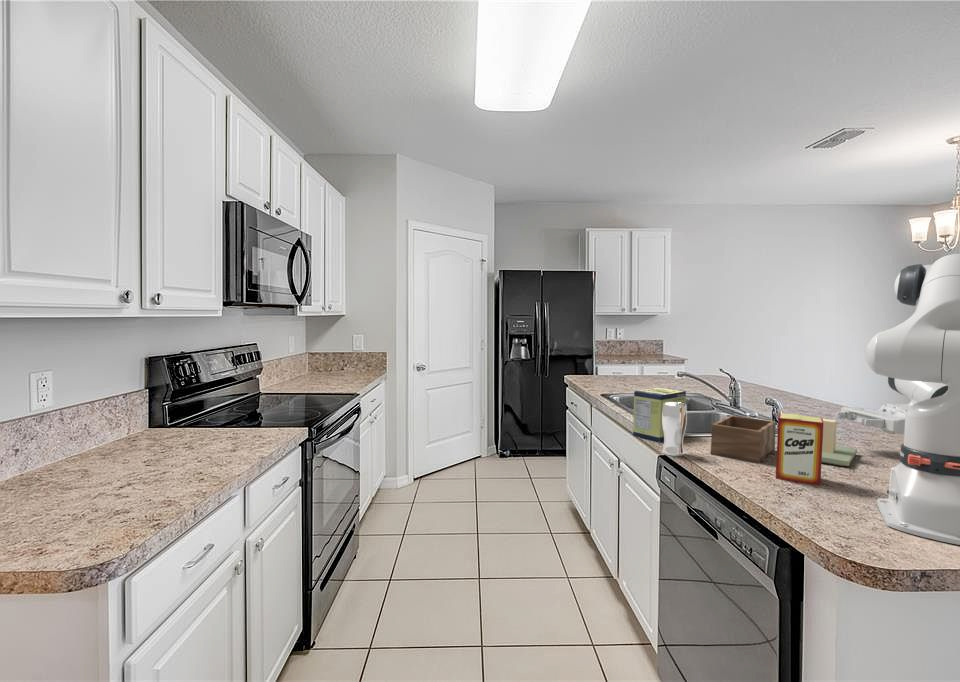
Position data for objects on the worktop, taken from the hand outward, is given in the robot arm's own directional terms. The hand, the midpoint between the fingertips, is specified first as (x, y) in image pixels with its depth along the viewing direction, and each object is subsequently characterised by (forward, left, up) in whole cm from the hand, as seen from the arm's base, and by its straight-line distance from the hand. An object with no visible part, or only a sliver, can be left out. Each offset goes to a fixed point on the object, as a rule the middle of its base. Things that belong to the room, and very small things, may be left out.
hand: (850, 418), depth 148 cm
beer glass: (-33, +39, -12) cm, 52 cm away
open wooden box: (-17, +24, -11) cm, 31 cm away
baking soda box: (-33, +7, -12) cm, 36 cm away
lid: (-5, +5, -12) cm, 13 cm away
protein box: (-15, +51, -12) cm, 54 cm away
